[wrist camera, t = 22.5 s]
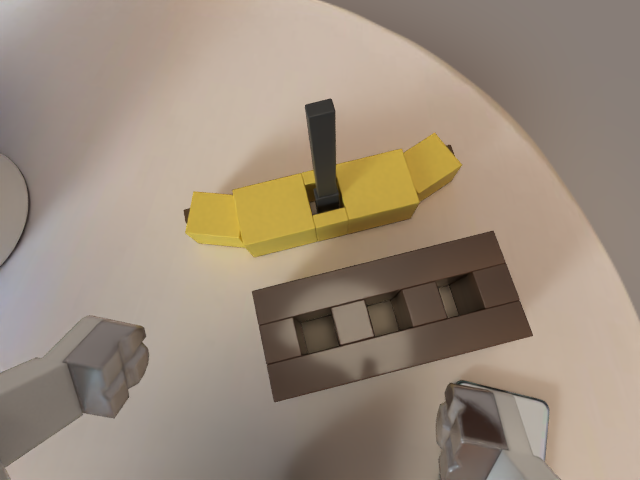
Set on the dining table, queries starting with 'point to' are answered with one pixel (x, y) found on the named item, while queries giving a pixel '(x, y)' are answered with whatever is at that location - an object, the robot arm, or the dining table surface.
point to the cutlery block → (409, 307)
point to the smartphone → (528, 418)
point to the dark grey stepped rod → (323, 153)
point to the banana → (298, 190)
